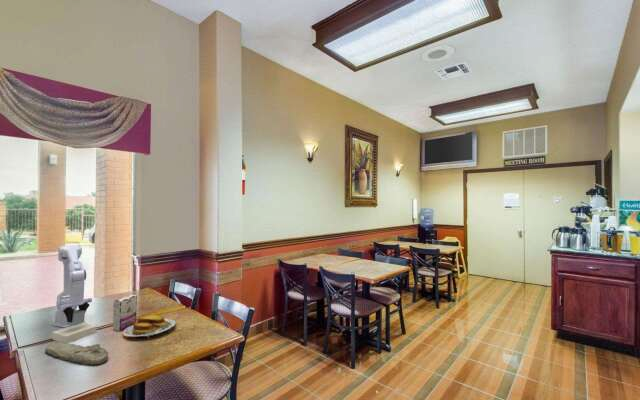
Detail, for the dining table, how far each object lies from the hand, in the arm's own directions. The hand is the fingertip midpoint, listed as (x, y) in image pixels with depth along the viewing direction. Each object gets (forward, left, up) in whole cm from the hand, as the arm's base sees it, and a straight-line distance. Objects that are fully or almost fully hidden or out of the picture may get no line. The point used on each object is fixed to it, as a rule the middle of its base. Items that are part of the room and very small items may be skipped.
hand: (75, 320), depth 153 cm
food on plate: (+30, +18, -9) cm, 36 cm away
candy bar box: (+13, +17, -8) cm, 23 cm away
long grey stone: (+21, -14, -9) cm, 27 cm away
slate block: (0, 0, -2) cm, 2 cm away
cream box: (0, 0, -9) cm, 9 cm away
